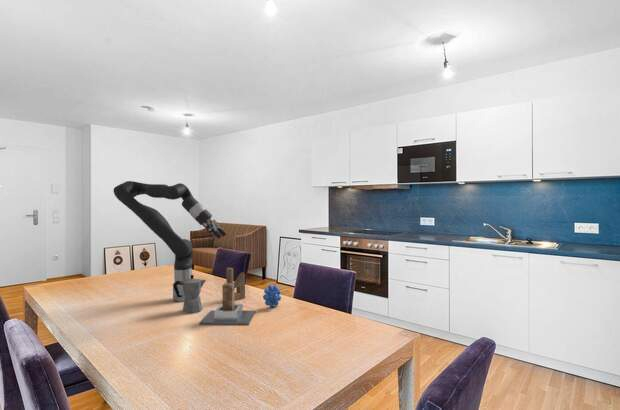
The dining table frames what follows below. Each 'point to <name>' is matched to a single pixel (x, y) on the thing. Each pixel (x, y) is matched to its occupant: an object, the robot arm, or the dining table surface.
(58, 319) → the dining table surface
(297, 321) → the dining table surface
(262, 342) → the dining table surface
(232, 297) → the walnut post
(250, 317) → the keeper cradle
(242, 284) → the brown wooden pegged bracket
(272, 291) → the grapes
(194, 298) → the coffeepot
